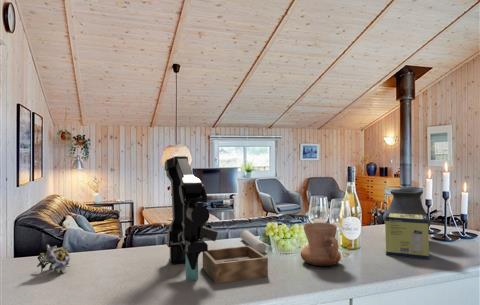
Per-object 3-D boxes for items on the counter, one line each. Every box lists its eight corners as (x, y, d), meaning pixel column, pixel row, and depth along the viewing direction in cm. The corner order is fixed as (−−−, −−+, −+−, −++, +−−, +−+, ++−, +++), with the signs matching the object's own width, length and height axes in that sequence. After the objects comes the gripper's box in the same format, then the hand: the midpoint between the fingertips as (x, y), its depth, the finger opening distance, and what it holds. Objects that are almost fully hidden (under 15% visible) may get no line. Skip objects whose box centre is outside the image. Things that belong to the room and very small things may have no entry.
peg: (187, 281, 108) (186, 249, 108) (184, 277, 112) (184, 246, 112) (199, 279, 109) (199, 248, 109) (196, 275, 113) (196, 245, 113)
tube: (270, 244, 139) (252, 231, 163) (258, 240, 138) (242, 228, 162) (266, 256, 139) (248, 241, 163) (254, 253, 138) (238, 239, 162)
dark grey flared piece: (375, 240, 160) (374, 187, 160) (394, 233, 175) (394, 184, 175) (422, 248, 145) (421, 190, 145) (438, 239, 160) (437, 187, 160)
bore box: (215, 283, 106) (215, 264, 106) (202, 267, 122) (202, 250, 122) (267, 276, 112) (267, 257, 112) (249, 261, 128) (248, 245, 128)
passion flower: (62, 289, 116) (59, 267, 110) (30, 284, 115) (24, 261, 109) (77, 262, 126) (74, 240, 119) (47, 257, 125) (43, 235, 118)
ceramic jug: (292, 258, 131) (291, 222, 131) (324, 255, 136) (324, 219, 136) (317, 273, 114) (317, 231, 114) (353, 268, 119) (352, 228, 119)
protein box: (386, 249, 145) (385, 212, 145) (428, 253, 138) (427, 214, 138) (385, 255, 135) (384, 216, 135) (429, 260, 128) (429, 219, 129)
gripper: (223, 222, 105) (224, 273, 104) (208, 213, 122) (208, 257, 122) (188, 225, 101) (188, 278, 101) (177, 215, 118) (177, 260, 118)
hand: (191, 267), depth 110 cm, fingers closed on peg, 4 cm apart
